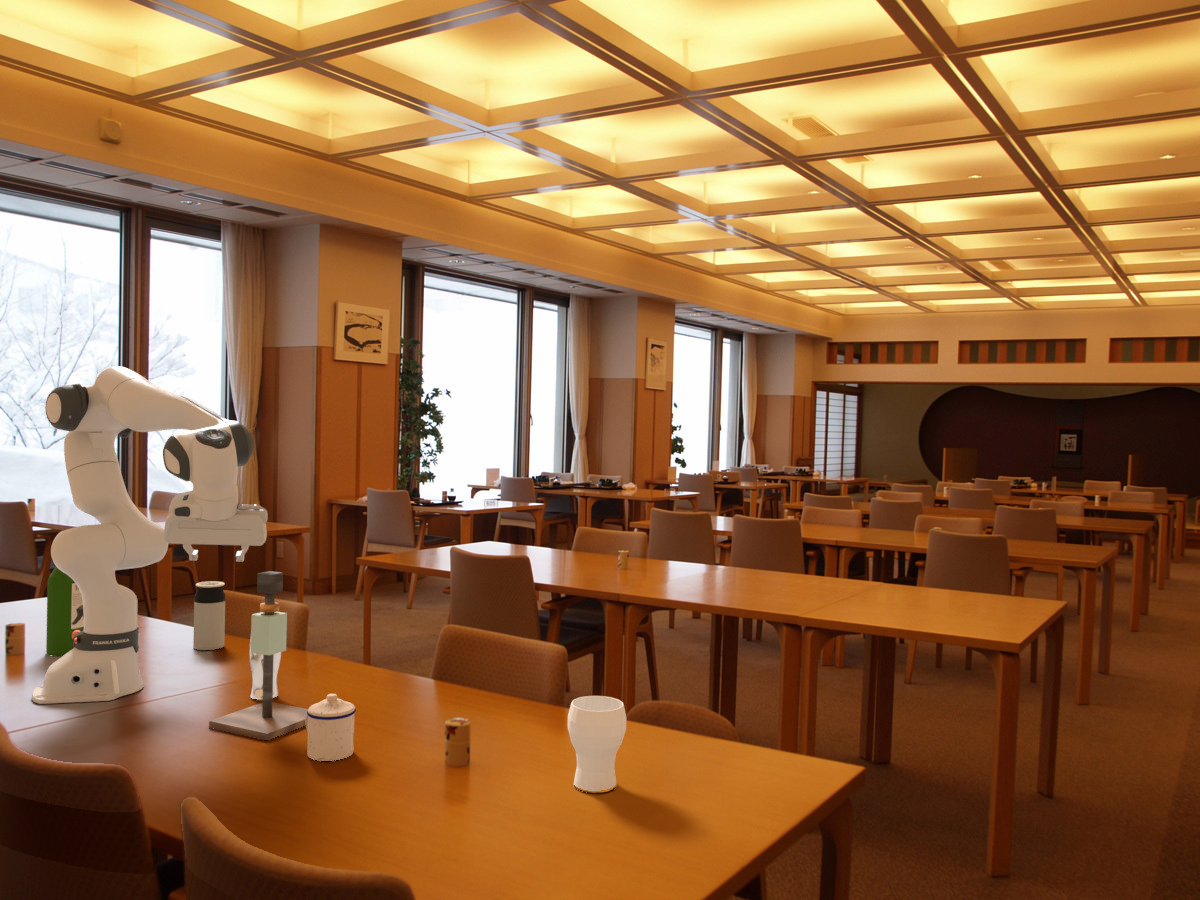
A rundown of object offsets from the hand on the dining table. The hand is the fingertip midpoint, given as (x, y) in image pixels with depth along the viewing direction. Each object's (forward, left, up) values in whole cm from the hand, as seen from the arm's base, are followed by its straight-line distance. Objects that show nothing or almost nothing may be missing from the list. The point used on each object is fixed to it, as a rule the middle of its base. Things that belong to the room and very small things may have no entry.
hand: (217, 559), depth 199 cm
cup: (+59, -68, -34) cm, 96 cm away
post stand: (+10, -11, -34) cm, 37 cm away
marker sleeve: (+10, -11, -18) cm, 23 cm away
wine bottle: (-31, +69, -34) cm, 83 cm away
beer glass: (+12, +9, -34) cm, 37 cm away
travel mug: (+4, +62, -34) cm, 71 cm away
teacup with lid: (+18, -33, -34) cm, 50 cm away
